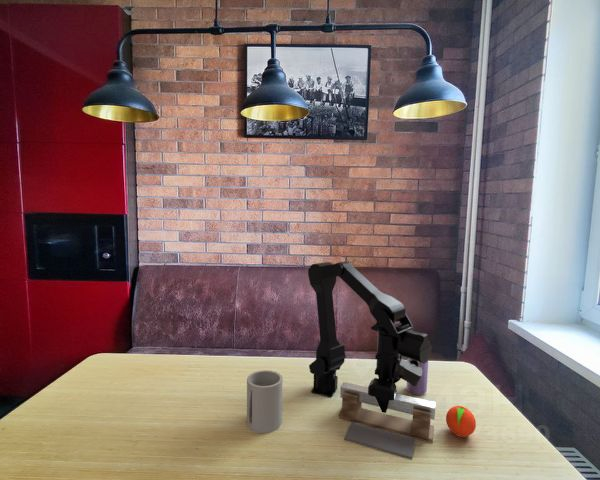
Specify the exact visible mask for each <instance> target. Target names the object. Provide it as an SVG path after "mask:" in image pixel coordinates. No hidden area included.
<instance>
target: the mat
mask: <svg viewBox="0 0 600 480" xmlns="http://www.w3.org/2000/svg"><path fill="white" fill-rule="evenodd" d="M343 441H348V442H351V443H355V444H358V445H362V446H365V447H368V448H371V449H372V448H373V449H376V450H380V451H382V452H386V453H390V454H393V455H398V456H401V457H404V458H408V459H411V460H413V457H414V450H415V445H416V438H413V437H409V436H405V435H402V434H398V433H394V432H390V431H386V430H383V429H379V428H375V427H371V426H367V425H363V424H360V423H356V422H352V421H350V425H349V427H348V429H347V431H346V433H345V436H344V438H343Z"/></svg>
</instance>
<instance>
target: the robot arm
mask: <svg viewBox="0 0 600 480" xmlns="http://www.w3.org/2000/svg"><path fill="white" fill-rule="evenodd" d="M307 273H308V274H307V275H308V281H309V284H310V286H311V288H312V289H313V291H314V293H315V297H316V307H317V319H318V329H319V343H318V345H317V348H316V353H315V360H314V361H312V362H311V363H310V364H309V365H308V368H309V372H310V374H312V375H313V387H312V388H311V393H312V394H317V395H320V396H321V395H322V396H326V397H329V398H332V397H333V396H334V394H335V393H336V391H337V390H338V380H339V376H338V375H337V371H339V370H340V369H341V367H342V365H343V364H344V363H345V361H346V358H347V356H346V353H345V352H346V350H345V348H346V347H345V344H343V343H342V344H341V343H340V341H339V340H338V338H337V329H336V328H337V327H336V319H335V318H336V317H335V307H334V306H335V305H334V299H333V298H334V296H333V294H334V293H333V291H334V288H335V286H336V283H337V277H339V279H341V280H342V282H344V284H346V285H347V286H348V287H349V288H350V289H351V290H352V291H353V292H354V293H355V294H356V295H357V296H358V297H359V298H360V299H361V300H362V301H363V302H364V303H366V305H367V307H368V309H369V312H370V314H371V316H372V318H373V319H374V320H375V321H376V322H375V324H373V325H371V327H370V329H371V330H373V331H376V332H377V342H376V343H377V346H376V347H377V349H376V353H375V358H374V359H375V360H376V367H375V369H374V375H376V376H377V377H378V378H376V377H374V378H372V379H371V380H370V383H369V384H368V394H369V395H370V396H374V397H375V398H376V400H377V402H378V404H379V409H380V411H381V413H384V414H387V410H388V409H387V408H388V404H389V400H394V398H395V395H396V394H397V392H398V390H397V383H398V382H399V381H400V380H401V379H402V380H403V381H405V382H406V383H407V382H409V383H410V384H411V385H413V386H417V384H418V382H419V380H420V378H421V376H422V372H423V370H422V367H419V362H420V363H423V364H424V363H426V362H427V361H428V362H429V360H430V358H431V355H432V352H433V351H432V349H433V346H432V343H431V341H430V339H429V335H428V334H427V333H423V332H418V331H414V329H415V328H414V325H413V323H412V321H411V319H410V318H409V316H408V314H407V313H406V307H405V305H404V304H403V303H402V302H401V301H400V300H398V299H397V298H395V297H393V296H392V295H389V294H386V293H384V292H382V291H380V290H379V289H378V288H377V287H376V286H375V285H373V283H372V282H371V281H369V280H368V279H367V278H366V277H365V276H364V275H363V274H362V273H361V272H360V271H358V269H356V268H355V267H354V266H353V263H352V262H351V261H350V262H349V261H347V260H346V261H340V262H336V263H332V262H330V261H325V262H319V263H318V262H317V263H313V264H311V265H310V266H309V268H308V270H307ZM397 324H400V325H397ZM395 325H397V326H395ZM403 358H407V359H403ZM408 358H409V359H410V360H409V361H408Z"/></svg>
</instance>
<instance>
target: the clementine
mask: <svg viewBox="0 0 600 480" xmlns="http://www.w3.org/2000/svg"><path fill="white" fill-rule="evenodd" d="M445 421H446V422H445V423H446V425H447V427H448V429H449V430H450V431H451V432H452V433H453V434H455V435H456V436H458V437H461V438H462V437H464V438H465V437H469V436H470V435H473V433H474V431H475V430H476V428H477V424H476V423H477V421H476V418H475V416H474V414H473V412H472V411H471V410H469V409H468V408H467V407H465V406H463V405H455V406H452V407H450V409H448V411H447V412H446V415H445Z"/></svg>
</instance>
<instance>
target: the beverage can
mask: <svg viewBox="0 0 600 480" xmlns="http://www.w3.org/2000/svg"><path fill="white" fill-rule="evenodd" d="M407 360H408V361H409V360H410V359H409V358H407ZM419 367H422V370H423V372H422V376H421V378H420V380H419V382H418V384H417V386H413V385H411V384H410V383H409V382H407V381H406V390H407V391H408V392H409V393H410V394H412V395H414V396H415V395H416V396H423V395H425V394H426V393H427V390H428V389H427V388H428V371H429V360H428V361H427V362H426V363H424V364H423V363H420V362H419Z"/></svg>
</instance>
